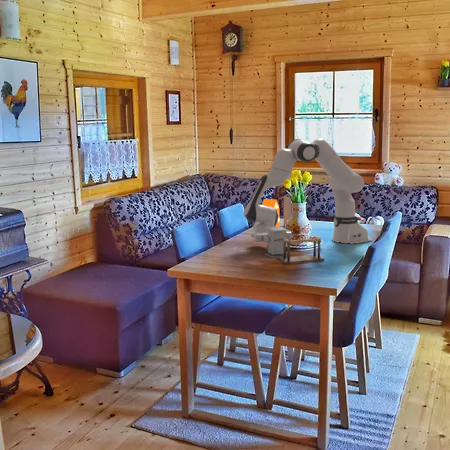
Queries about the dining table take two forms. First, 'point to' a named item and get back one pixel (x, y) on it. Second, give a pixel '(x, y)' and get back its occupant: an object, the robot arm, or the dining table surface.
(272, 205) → the orange juice
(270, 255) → the mat
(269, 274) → the dining table surface
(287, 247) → the wooden post stand
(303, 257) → the brown board
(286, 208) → the candle
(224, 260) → the dining table surface
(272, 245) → the supplement box
